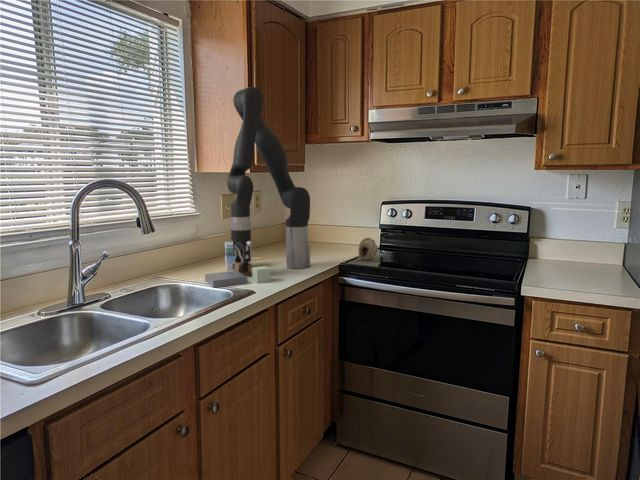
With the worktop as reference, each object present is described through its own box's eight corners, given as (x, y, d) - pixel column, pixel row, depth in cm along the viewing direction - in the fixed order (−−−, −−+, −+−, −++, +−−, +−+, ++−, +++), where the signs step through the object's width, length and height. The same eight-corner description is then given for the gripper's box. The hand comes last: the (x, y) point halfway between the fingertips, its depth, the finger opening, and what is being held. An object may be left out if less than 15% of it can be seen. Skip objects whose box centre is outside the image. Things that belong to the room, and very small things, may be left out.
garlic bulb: (357, 257, 208) (357, 236, 207) (376, 257, 208) (376, 236, 206) (358, 261, 199) (358, 239, 197) (378, 261, 198) (378, 239, 197)
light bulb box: (226, 270, 184) (225, 244, 183) (225, 267, 191) (224, 241, 189) (252, 268, 187) (251, 242, 185) (250, 265, 193) (249, 240, 192)
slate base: (236, 276, 172) (236, 270, 172) (246, 283, 162) (246, 276, 161) (205, 280, 167) (204, 274, 166) (213, 287, 156) (213, 280, 156)
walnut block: (247, 273, 178) (246, 261, 177) (251, 276, 173) (251, 263, 173) (235, 275, 175) (234, 262, 175) (239, 277, 171) (238, 264, 170)
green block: (265, 279, 169) (265, 266, 168) (270, 281, 164) (270, 268, 163) (252, 280, 166) (252, 267, 166) (257, 283, 162) (257, 269, 161)
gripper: (256, 229, 167) (257, 272, 169) (244, 226, 180) (245, 266, 182) (237, 230, 164) (237, 274, 166) (226, 226, 176) (227, 267, 178)
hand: (241, 270), depth 174 cm, fingers open, 8 cm apart
